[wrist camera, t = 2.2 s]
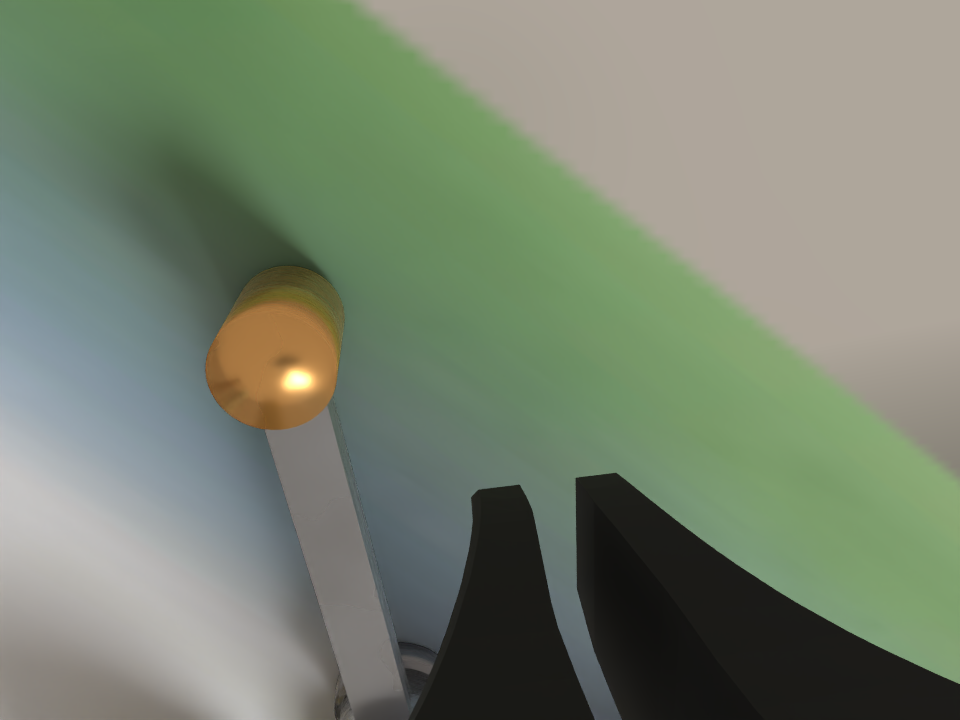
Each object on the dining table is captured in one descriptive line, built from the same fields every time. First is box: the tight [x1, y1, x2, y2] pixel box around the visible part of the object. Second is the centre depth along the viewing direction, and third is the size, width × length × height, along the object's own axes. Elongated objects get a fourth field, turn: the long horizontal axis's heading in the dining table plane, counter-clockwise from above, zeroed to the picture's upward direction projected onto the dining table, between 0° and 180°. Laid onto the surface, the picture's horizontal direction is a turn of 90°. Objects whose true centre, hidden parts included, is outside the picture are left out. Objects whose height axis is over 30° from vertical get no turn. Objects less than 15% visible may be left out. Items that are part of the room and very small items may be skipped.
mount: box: [335, 643, 437, 720], centre depth 25 cm, size 4×4×1 cm
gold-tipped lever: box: [205, 266, 429, 720], centre depth 20 cm, size 17×4×4 cm, turn 8°
